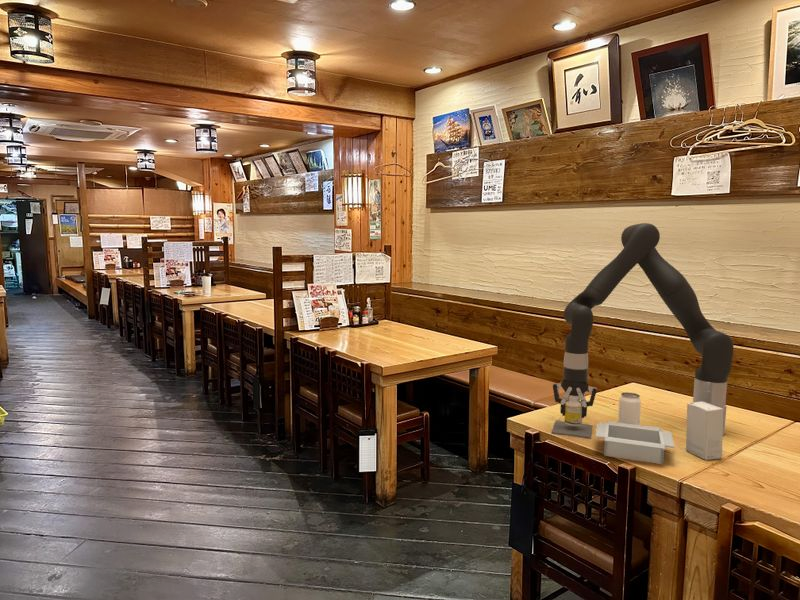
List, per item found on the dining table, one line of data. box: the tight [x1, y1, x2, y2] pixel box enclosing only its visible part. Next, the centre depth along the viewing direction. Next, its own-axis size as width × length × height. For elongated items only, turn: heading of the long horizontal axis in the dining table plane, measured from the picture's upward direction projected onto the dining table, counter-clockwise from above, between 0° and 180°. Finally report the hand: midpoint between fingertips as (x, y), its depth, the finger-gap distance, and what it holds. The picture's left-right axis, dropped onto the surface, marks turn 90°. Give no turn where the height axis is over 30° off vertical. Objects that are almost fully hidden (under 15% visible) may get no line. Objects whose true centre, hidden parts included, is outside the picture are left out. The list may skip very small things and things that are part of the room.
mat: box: [550, 420, 594, 440], centre depth 182 cm, size 12×12×1 cm
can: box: [617, 392, 642, 425], centre depth 181 cm, size 6×6×12 cm
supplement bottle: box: [564, 395, 583, 426], centre depth 181 cm, size 5×5×10 cm
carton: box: [595, 420, 675, 465], centre depth 164 cm, size 21×18×6 cm
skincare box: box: [685, 402, 724, 461], centre depth 162 cm, size 8×6×15 cm
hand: (573, 416), depth 181 cm, fingers closed on supplement bottle, 5 cm apart
